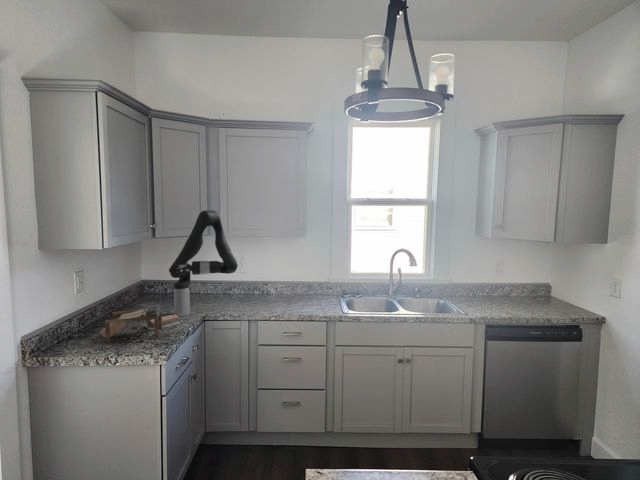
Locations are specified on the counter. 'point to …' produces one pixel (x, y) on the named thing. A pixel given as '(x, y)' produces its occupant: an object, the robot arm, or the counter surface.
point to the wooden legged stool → (156, 320)
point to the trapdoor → (143, 312)
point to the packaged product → (164, 322)
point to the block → (114, 328)
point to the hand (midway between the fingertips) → (169, 269)
